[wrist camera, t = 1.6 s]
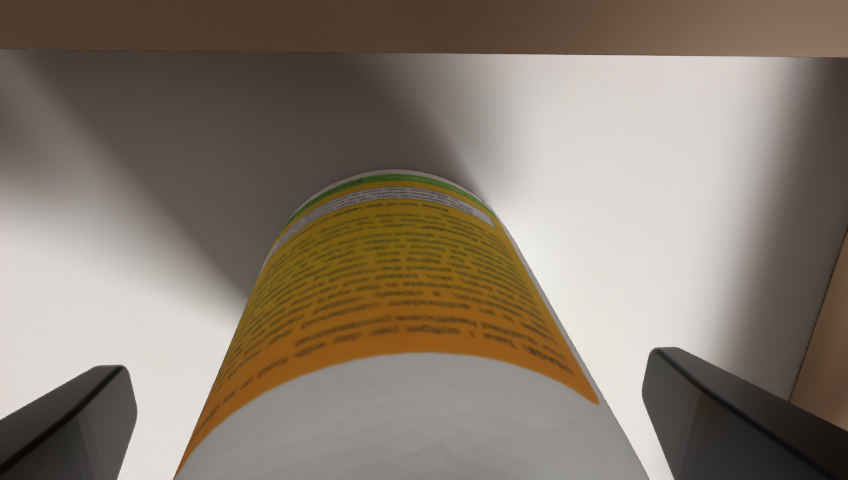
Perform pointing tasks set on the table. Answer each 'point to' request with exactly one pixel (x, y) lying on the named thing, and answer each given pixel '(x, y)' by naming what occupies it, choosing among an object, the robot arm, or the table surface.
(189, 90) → the table surface
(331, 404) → the supplement bottle
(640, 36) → the walnut stall
